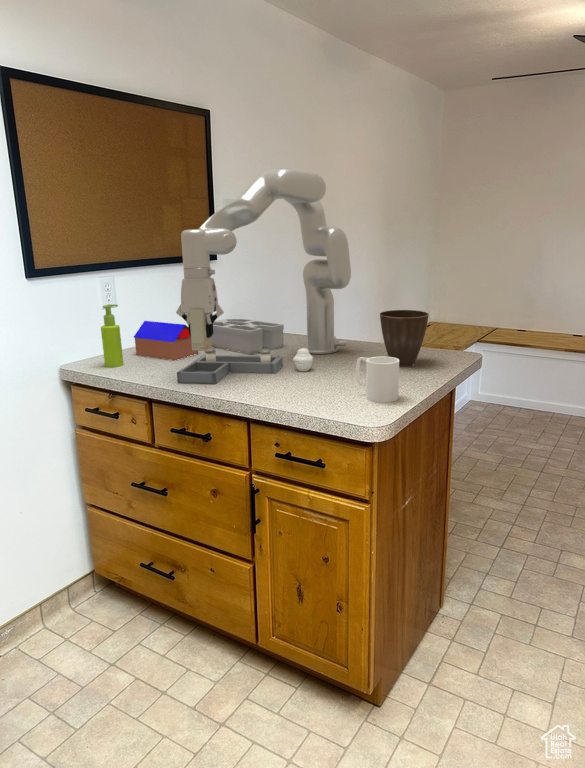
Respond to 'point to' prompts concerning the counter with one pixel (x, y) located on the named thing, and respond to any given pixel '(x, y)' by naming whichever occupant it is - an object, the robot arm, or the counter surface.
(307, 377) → the counter surface
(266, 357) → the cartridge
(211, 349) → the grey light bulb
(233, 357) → the grey rectangular frame
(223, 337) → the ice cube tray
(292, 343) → the counter surface
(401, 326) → the plant pot
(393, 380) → the cup
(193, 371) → the tray
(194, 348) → the skincare box
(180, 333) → the house
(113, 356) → the soap dispenser
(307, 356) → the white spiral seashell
